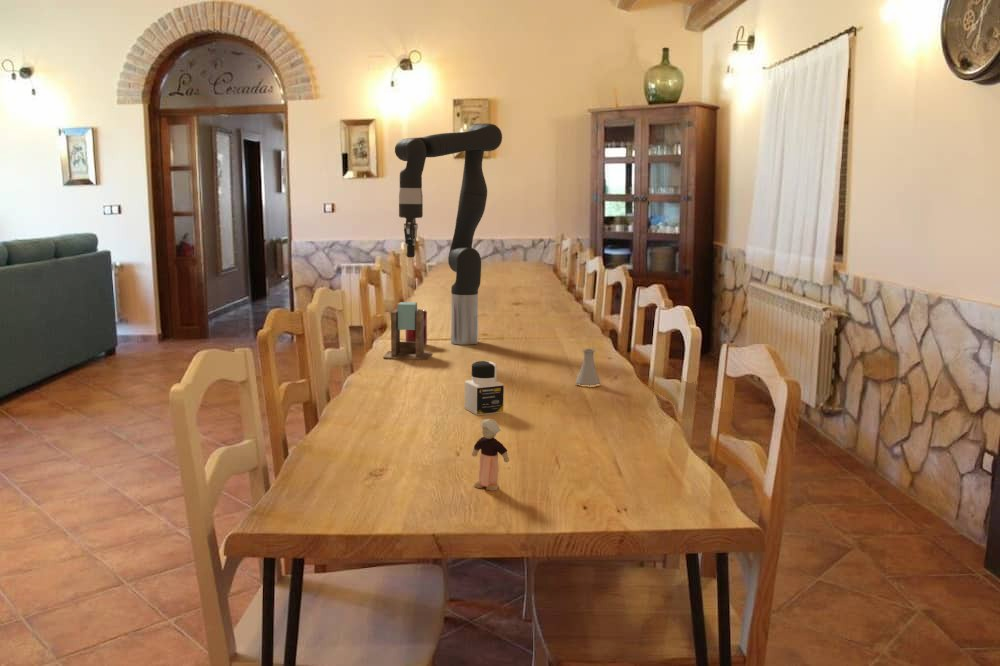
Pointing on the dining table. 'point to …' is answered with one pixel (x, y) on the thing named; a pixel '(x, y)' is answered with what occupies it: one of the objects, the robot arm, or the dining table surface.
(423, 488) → the dining table surface
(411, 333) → the soda can
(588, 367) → the flask
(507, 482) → the dining table surface
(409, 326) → the block
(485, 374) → the medicine bottle
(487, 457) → the grandmother figurine
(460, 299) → the robot arm
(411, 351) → the brown wooden holder
